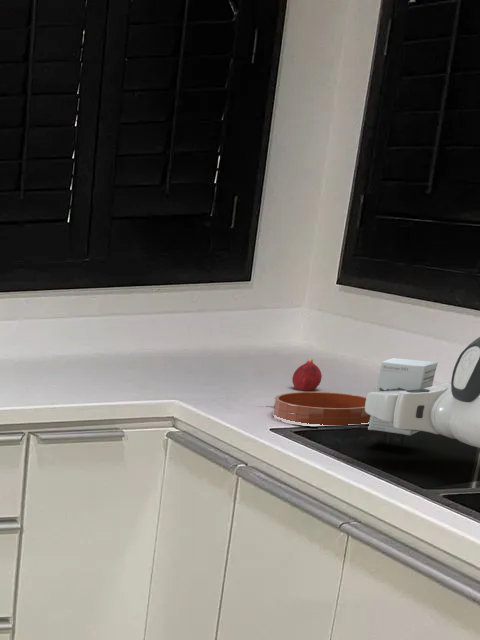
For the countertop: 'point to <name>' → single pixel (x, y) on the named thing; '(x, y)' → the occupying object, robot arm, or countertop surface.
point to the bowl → (321, 408)
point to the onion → (307, 376)
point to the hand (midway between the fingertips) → (406, 394)
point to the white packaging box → (402, 384)
